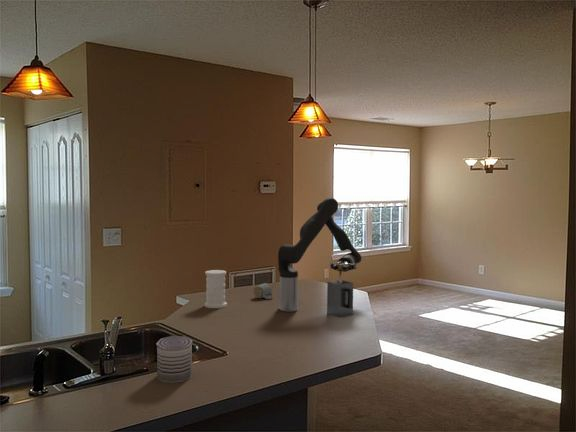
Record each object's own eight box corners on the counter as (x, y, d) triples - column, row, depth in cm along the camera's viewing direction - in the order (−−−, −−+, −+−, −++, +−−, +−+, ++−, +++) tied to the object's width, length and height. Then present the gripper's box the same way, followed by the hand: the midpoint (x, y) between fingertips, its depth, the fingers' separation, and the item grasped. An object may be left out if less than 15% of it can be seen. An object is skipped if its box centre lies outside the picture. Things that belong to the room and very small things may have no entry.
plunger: (330, 304, 253) (331, 264, 252) (340, 302, 257) (340, 263, 256) (339, 307, 248) (340, 265, 247) (349, 305, 252) (350, 264, 251)
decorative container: (229, 307, 265) (229, 272, 264) (207, 308, 261) (207, 274, 260) (223, 302, 276) (223, 269, 275) (202, 304, 271) (202, 270, 270)
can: (194, 370, 175) (194, 335, 174) (189, 383, 163) (189, 346, 163) (161, 370, 174) (160, 335, 174) (153, 383, 163) (153, 346, 162)
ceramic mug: (252, 298, 287) (252, 284, 287) (261, 295, 294) (261, 282, 293) (267, 300, 281) (267, 287, 281) (276, 298, 288) (276, 284, 287)
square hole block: (326, 313, 254) (327, 281, 253) (339, 311, 259) (340, 279, 258) (344, 318, 244) (344, 285, 243) (357, 315, 250) (357, 283, 249)
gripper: (332, 255, 267) (325, 259, 251) (359, 256, 263) (354, 261, 246) (332, 269, 267) (325, 275, 251) (359, 271, 263) (353, 276, 247)
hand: (339, 268), depth 249 cm, fingers closed on plunger, 4 cm apart
